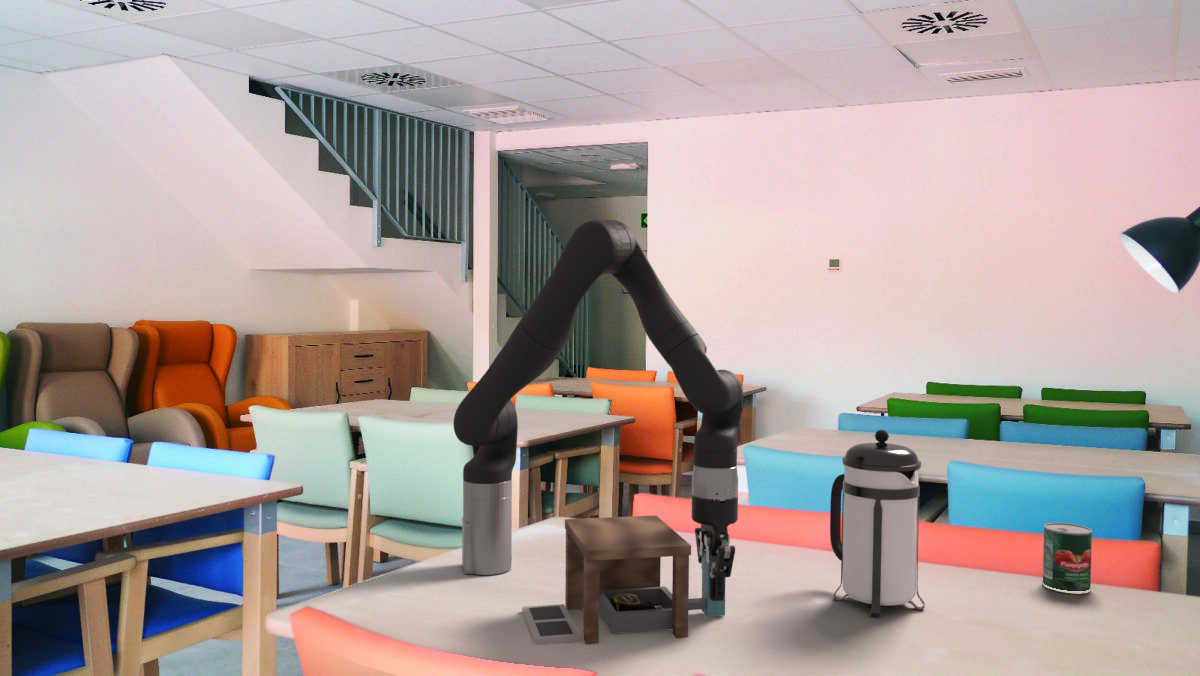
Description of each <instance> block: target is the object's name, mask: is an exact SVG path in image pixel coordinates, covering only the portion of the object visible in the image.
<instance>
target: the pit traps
mask: <svg viewBox="0 0 1200 676" xmlns="http://www.w3.org/2000/svg"><path fill="white" fill-rule="evenodd" d="M521 609H522V610H521V612H522V614H523V617H524V620H525V622H526V625H527V627H528V631H529V633H530V635H531V638H532V641H533V643H534V645H545V644H547V645H548V644H560V643H573V642H581V641H582V637H581V634H580V632H579V630H578V628H577V626H576V624H575V622H574V620H573V619H572V616H571V615H570V613H569V610H567V608H566V606H565V603H561V604H560V603H559V604H548V605H547V604H545V605H531V606H529V605H528V606H522V607H521Z"/></svg>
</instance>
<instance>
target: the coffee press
mask: <svg viewBox="0 0 1200 676" xmlns="http://www.w3.org/2000/svg"><path fill="white" fill-rule="evenodd" d="M889 437H890V435H889V433H888V431H887V430H885V429H879V430H877V431H876V432H875V435H874V438H875V440H876V441H877V442H863V443H858V444H856V445H853V446H851V447H850V448H848V449H847V451H846V452H845V455H844V456H843V457H842V458H841V459H842V466H843V467H844V473H842V474H839V475H837V476H836V478H835V479H834V481H833V483H832V486H831V491H830V505H829V506H830V509H829V512H830V514H829V515H830V516H829V517H830V518H829V535H830V537H829V539H830V545H831V548H832V551H833V553H834V556H836V557H837V559H838V560H839V561H841V563H840V564H841V566H840V568H841V569H840V584H839V586H838V587H837V588H836V590H835V591H834V593H833V599H834V600H835V601H836V602H837V601H838V602H840V601H842V600H844V599H845V598H847V597H849V598H851V599H853V600H855V601H858V602H860V603H865V604H869V605H871V609H870V611H871V612H870V613H871V614H870V616H871V617H874V618H881V606H886V607H887V606H891V607H892V606H899V605H905V604H910V605H911V606H913V608H915V609H916V610H917V611H923V610H924V609H925V601H924V599H923V598H922V597H921V595H920V594H919V591H918V589H919V586H918V582H919V581H918V579H919V578H918V576H919V573H918V572H919V535H920V534H919V532H920V531H919V528H920V527H919V526H920V492H921V491H920V489H921V487H920V483H919V471H920V470H921V468H922V462H921V460H919V458H918V455H917V453H916V452H915V451H914V450H913V449H911V448H909V447H908V446H904V445H901V444H897V443H896V444H894V443H890V442H889V443H887V441H888V440H889ZM841 587H842V588H843V591H844V595H843V596H841V597H838V596H836V594H837V592H838V591H839V590H840V588H841ZM915 596H917V597H918V599H919V601H920V602H921V603H922V604H923V605H922V606H921V607H920V606H918V605H916V603H914V601H912V600H913V599H914V598H915Z"/></svg>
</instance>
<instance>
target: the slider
mask: <svg viewBox="0 0 1200 676" xmlns="http://www.w3.org/2000/svg"><path fill="white" fill-rule="evenodd" d="M716 557H717V556H712V558H716ZM701 564H702V568H701V597H697V598H696V597H695V598H694V597H693V598H689V607H688V611H695V610H699V611H700V610H701V612H702V613H703V614H704V615H705V616H706V617H723V616H726V581H725V582H724V599H723V600H722V601H712V600H711V598H710V577H711V576H710V564H709V563H708V562H707V556H706V551H705V552H703V558H702V563H701ZM720 570H721V568H720ZM636 593H639V594H641V595H642V596H643V597H644V598H646V599H647V600H648V601H650V602H651V603H652V604H653V605H654V606H655V607H661V608H656V609H652V610H636V611H620V612H616V610H615V609H614V607H613V606H612V604H611V603H610V601H611V599H612V598H613V597H614V596H616V595H619V594H636ZM599 617H600V618H601V619H602V620H603V622H604V624H605V625H606V628H607V629H608V630H609V632H610V633H611V634H623V633H636V632H637V633H638V632H639V633H640V632H651V631H667V630H672V591H671V590H669V589H668V587H667V586H664V585H663V586H660V587H645V588H628V589H611V590H599Z"/></svg>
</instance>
